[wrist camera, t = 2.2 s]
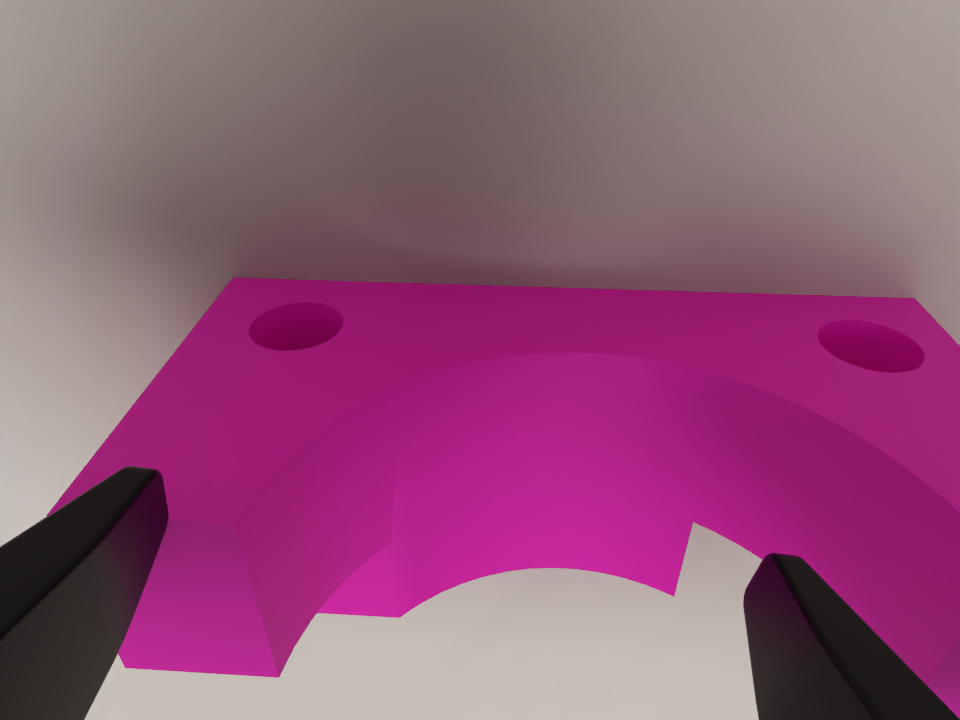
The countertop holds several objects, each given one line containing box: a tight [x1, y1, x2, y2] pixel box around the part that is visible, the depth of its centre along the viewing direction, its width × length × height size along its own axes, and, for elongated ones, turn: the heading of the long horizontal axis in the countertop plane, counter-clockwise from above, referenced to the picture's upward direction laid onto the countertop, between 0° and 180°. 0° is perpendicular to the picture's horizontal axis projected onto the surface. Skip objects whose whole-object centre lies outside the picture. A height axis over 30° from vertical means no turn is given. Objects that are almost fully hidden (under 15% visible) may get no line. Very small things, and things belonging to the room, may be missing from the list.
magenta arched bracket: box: [47, 278, 960, 719], centre depth 14 cm, size 15×6×8 cm, turn 90°
